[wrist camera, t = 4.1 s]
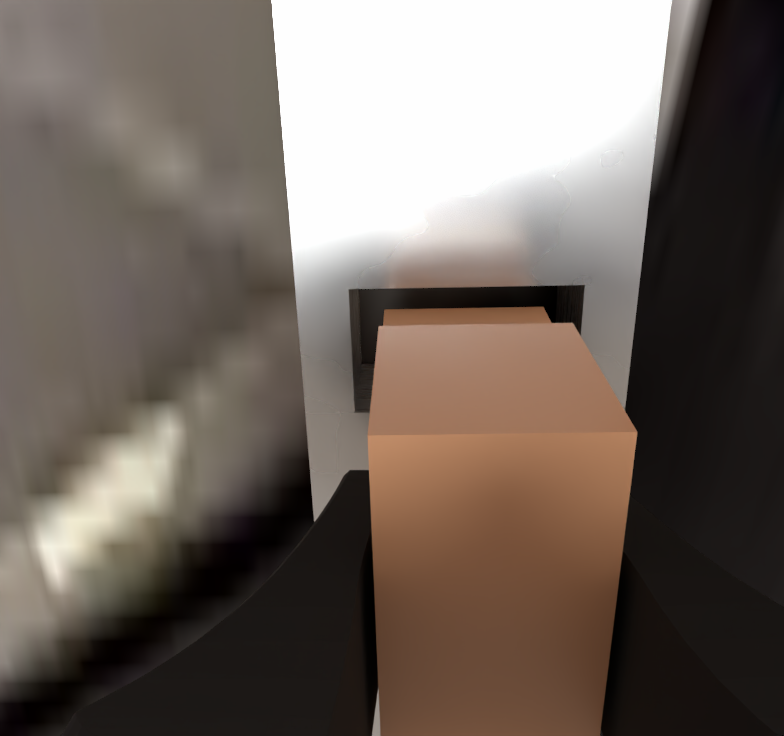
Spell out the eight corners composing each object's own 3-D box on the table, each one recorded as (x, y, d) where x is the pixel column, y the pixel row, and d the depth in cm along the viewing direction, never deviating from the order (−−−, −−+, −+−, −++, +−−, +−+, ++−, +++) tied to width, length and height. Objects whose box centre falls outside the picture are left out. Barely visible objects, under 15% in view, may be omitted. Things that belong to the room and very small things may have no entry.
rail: (653, -256, 12) (709, -323, 10) (559, 749, 22) (577, 831, 20) (276, -241, 13) (247, -304, 10) (346, 749, 22) (339, 830, 20)
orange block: (545, 276, 14) (637, 431, 8) (528, 556, 16) (589, 818, 11) (383, 278, 14) (367, 435, 8) (392, 557, 16) (383, 818, 11)
